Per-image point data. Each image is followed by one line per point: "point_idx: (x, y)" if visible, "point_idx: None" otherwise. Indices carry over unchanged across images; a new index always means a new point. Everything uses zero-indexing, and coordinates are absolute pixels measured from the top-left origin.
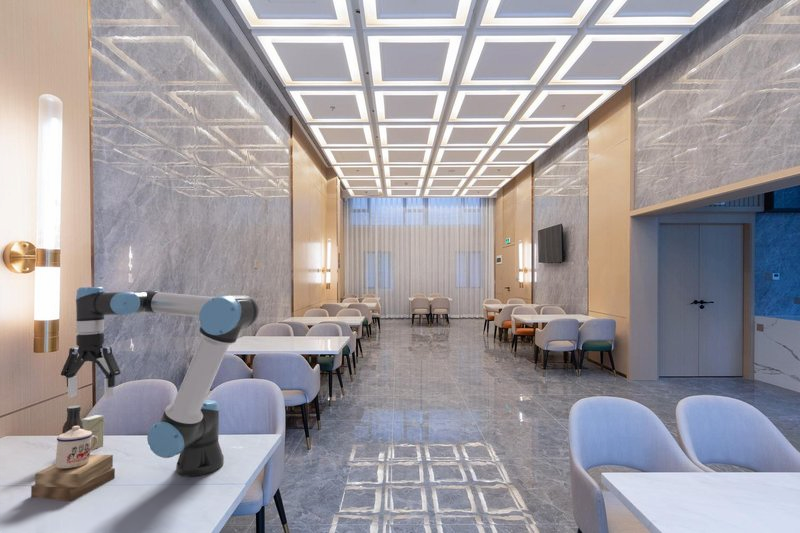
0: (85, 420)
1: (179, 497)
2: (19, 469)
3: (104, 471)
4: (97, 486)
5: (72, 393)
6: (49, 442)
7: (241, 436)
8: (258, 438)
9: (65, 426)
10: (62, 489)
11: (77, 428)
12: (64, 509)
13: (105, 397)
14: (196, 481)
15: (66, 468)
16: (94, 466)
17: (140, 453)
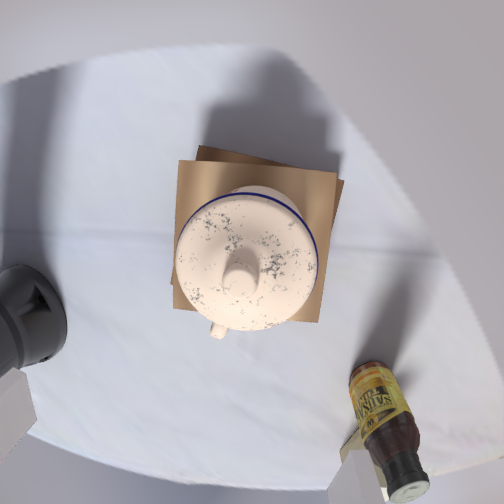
0: (386, 485)
1: (4, 175)
2: (461, 337)
3: None
4: None
5: (347, 486)
6: (459, 449)
7: (56, 440)
8: None
9: (409, 432)
10: (231, 152)
11: (225, 272)
12: (194, 110)
13: (15, 373)
14: (5, 242)
15: None
16: (175, 225)
17: (211, 412)
